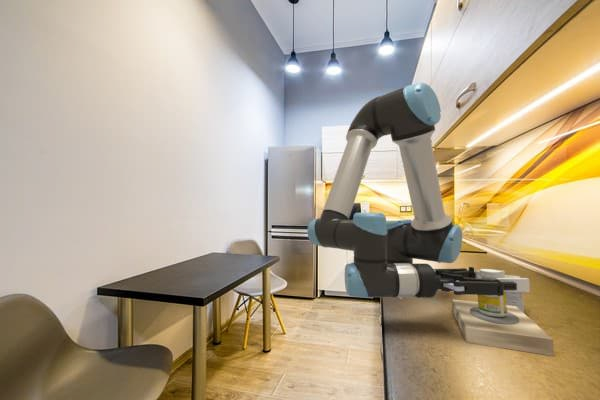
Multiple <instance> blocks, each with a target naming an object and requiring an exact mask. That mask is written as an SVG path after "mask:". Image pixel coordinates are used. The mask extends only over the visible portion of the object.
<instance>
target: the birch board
mask: <svg viewBox="0 0 600 400" xmlns="http://www.w3.org/2000/svg"><path fill="white" fill-rule="evenodd" d="M451 309H452V310H451V311H452V313H453V315H454V318H455V320H456V322H457V324H458V326H459V328H460V331H461V333H462V336H463V338H464V340H465V342H466V343H469V344H475V345H480V346H481V345H482V346H488V347H495V348H501V349H506V350H515V351H521V352H528V353H533V354H540V355H547V356H553V357H554V356H555V355H554V353H555V352H554V350H555V349H554V339H553V338H552V336H550V335H549V334H548V333H546V332H545V331H544V330H543V329H542V328H541V327H540V326H539V325H537V324H536V323H535V321H533V320H532V319H531V318H530V317H528V316H527V315H526V313H525V312H524V313H523V312H522V311H521V310H520V309H519V308H517V307H516V306H509V305H507V315H506V316H504V317H495V316H489V315H486V314H483V313H481V312H480V311H479V307H478V301H469V300H460V299H451Z"/></svg>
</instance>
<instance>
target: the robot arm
mask: <svg viewBox="0 0 600 400" xmlns="http://www.w3.org/2000/svg"><path fill="white" fill-rule="evenodd" d="M441 112H442V110H441V106H440V101H439V99H438V96H437V94H436V92H435V90H434V89H433V88H432V87H431V86H430V84H427V83H425V82H418V83H414V84H410V85H407V86H404V87H402V88H398V89H396V90H393V91H390V92H388V93H386V94H382V95H380V96H376V97H374V98H372V99H370V100H369V101H368V102H366V103H365V104H364V105H363V106H362V107H361V109H359V111H358V112H357V114H355V117H354V118H353V119H352V121H351V123H350V125H349V128H348V130H347V132H346V135H345V140H346V142H347V143H346V145H345V148H344V151H343V154H342V156H341V159H340V161H339V162H340V163H339V164H338V168H337V170H336V173H335V175H334V179H333V182H332V184H331V186H330V189H329V192H328V196H327V199H326V201H325V204H324V206H323V209H322V212H321V214H320V217H318V218H314V219H312V220H311V221H310V222H309V224H308V226H307V229H306V230H307V231H306V233H307V238H308V240H309V241H310V243H312V245H315V246H319V247H323V248H325V249H326V248H331V249H340V250H345V251H352V252H353V262H351V263H347V264H345V266H344V287H345V291H346V293H347V294H348V296H350V297H354V298H355V297H356V298H366V299H370V298H373V299H374V298H398V299H399V300H403V299H404V298H414V297H415V298H418V299H419V298H423V299H424V298H426V299H429V298H430V299H431V298H434V296H435V295H436V293H437V291H438V290H441V292H446V293H447V292H448V293H449V292H453V294H454V295H456V296H463V295H474V296H476V295H477V296H478V295H497V296H502V295H504V292H523V293H524V292H525V293H530V289H531V288H530V279H529V278H528V277H521V278H505V275H506V271H505V270H500V271H501V278H496V279H495V280H494V279H480V278H481V276H480V270H475V267H474V266H469V267H468V269H467V268H464V267H462V268H433V267H432V265H430V264H429V263H414V262H413V261H414V260H420V261H421V260H422V261H428V262H437V263H438V264H441V263H445V264H452V263H455V261H456V260H457V259H458V258H459V256H460V253H461V249H462V245H463V231H462V228H461V226H460V225H457V224H454V225H453V219H452V217H451V216H450V215H448V214H446V213H445V208H444V202H443V197H442V192H441V187H440V182H439V181H440V180H439V176H438V171H437V165H436V159H435V155H434V154H435V153H434V149H433V143H432V139H431V138H432V135H433V134H434V133H435V131H436V127H435V126H436V125H437V124H438V123H439V122H440V120H441ZM384 136H390V137H391V138H390V139H391V140H392V143H394V144H396V145H397V146H398V148H399V152H400V156H401V161H402V166H403V170H404V176H405V179H406V180H405V181H406V184H407V188H408V194H409V198H410V203H411V207H412V212H413V216H414V218H413V220H412V219H401V220H391V221H387V217H386V215H385V214H384V213H383V212H355V213H354V214H353V216H352V217H353V218H352V219H350V217H351V213H352V210H353V208H354V204H355V200H356V198H357V195H358V192H359V189H360V186H361V183H362V179H363V177H364V173H365V171H366V166H367V164H368V161H369V159H370V158H369V157H370V155H371V151H372V150H373V149H374V148H375V147H377V144H378V141H379V140H380V139H381V138H382V137H384Z"/></svg>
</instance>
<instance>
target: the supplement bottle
mask: <svg viewBox="0 0 600 400" xmlns="http://www.w3.org/2000/svg"><path fill="white" fill-rule="evenodd" d="M479 271H480V276H481V278H480V279H494V280H495V279H496V278H501V271H502V270H498V269H491V268H490V269H489V268H480V269H479ZM477 302H478V307H479V311H480V312H481V313H483V314H486V315H489V316H495V317H504V316H506V315H507V304H506V292H504V295H502V296H497V295H477Z"/></svg>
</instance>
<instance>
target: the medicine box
mask: <svg viewBox="0 0 600 400" xmlns="http://www.w3.org/2000/svg"><path fill="white" fill-rule="evenodd" d="M505 278H522V277H521V276H520V275H511V274H505ZM523 293H524V292H506V304H507V305H509V306H516V307H517V308H519V309H520V310H521V311H522V312H523V313H524V314H525V311H524V294H523Z"/></svg>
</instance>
